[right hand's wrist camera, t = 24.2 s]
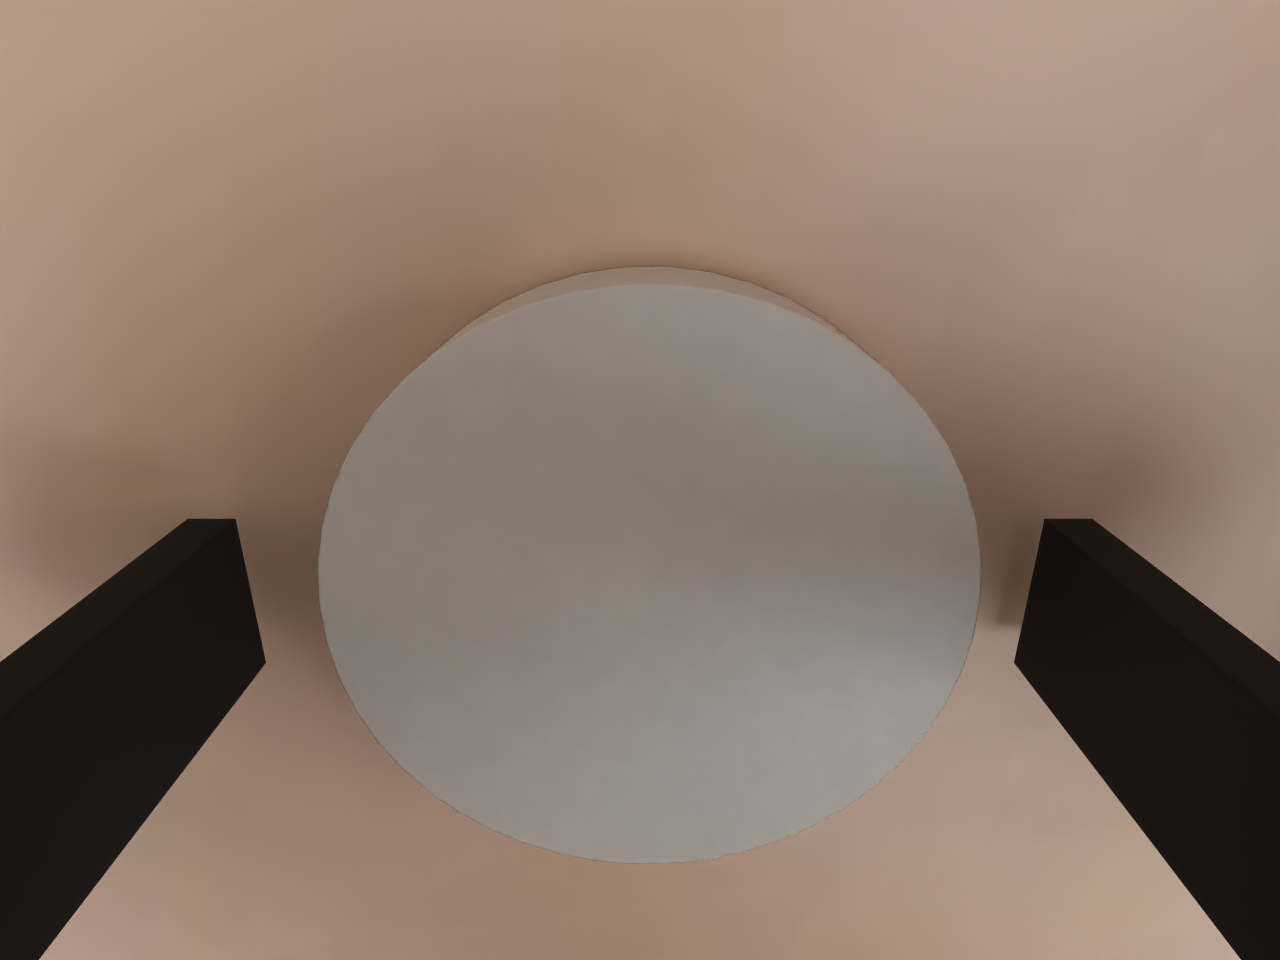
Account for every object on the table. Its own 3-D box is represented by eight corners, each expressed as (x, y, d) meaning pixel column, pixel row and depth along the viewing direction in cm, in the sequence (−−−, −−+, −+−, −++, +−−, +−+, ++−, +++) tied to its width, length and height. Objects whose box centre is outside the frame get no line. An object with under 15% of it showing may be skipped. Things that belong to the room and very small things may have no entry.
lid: (955, 240, 11) (1015, 253, 10) (917, 765, 15) (956, 848, 13) (301, 292, 12) (236, 313, 10) (419, 794, 15) (389, 880, 13)
